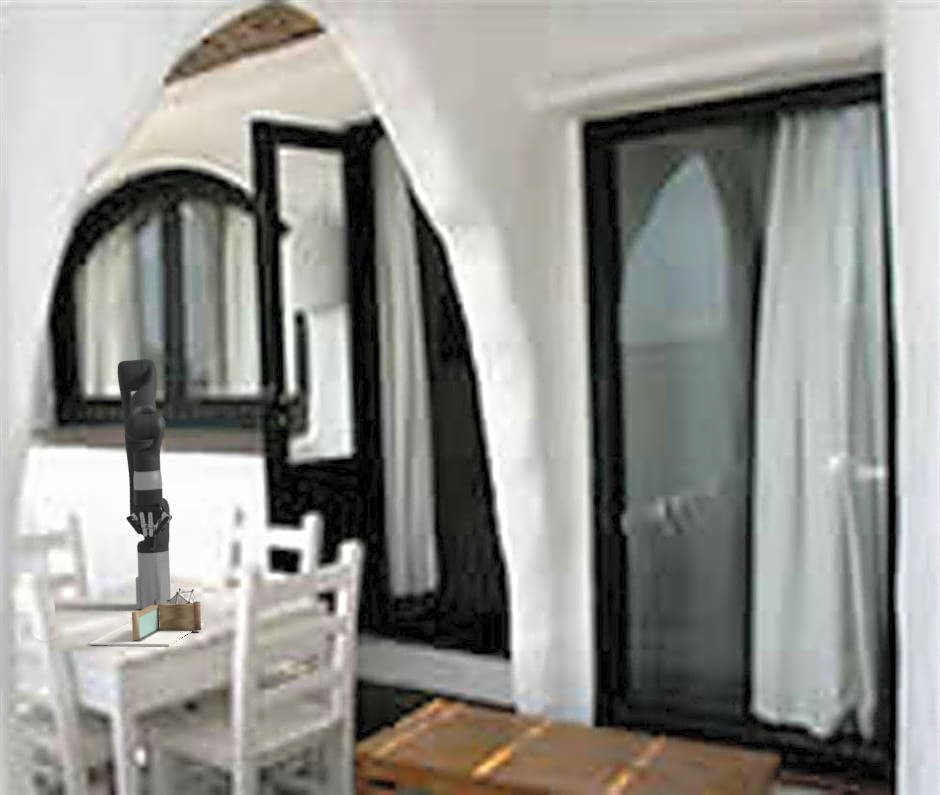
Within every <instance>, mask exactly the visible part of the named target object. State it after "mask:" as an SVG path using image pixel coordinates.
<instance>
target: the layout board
mask: <svg viewBox="0 0 940 795" xmlns="http://www.w3.org/2000/svg"><path fill="white" fill-rule="evenodd" d="M201 625H203V626H204V623H203V622H201ZM159 627H160V622H159ZM191 631H193V632H198V630H160V629H159V630H155V631H153V632H151V633H149V634H148V635H146V636H144V637H142V638H140V639H139V640H133V630H132V622H127V623H126V624H123V625H122V626H120V627H118V628H116V629H114V630H112V631H110V632H108V633H106V634H104V635H102V636H101V637H99V638H96V639H95V640H93V641H91V642H89V643H88V646H89V645H107V646H106V647H171V646H172V645H174V644H175V643H177V642H179V641H180V640H182V639H183V638H185V637H186V636H185V635H186V634H188V633H189V632H191ZM191 633H192V632H191ZM188 635H189V634H188ZM184 636H185V637H184ZM182 637H183V638H182ZM181 638H182V639H181ZM179 639H180V640H179ZM178 640H179V641H178ZM176 641H177V642H176ZM173 643H174V644H173Z"/></svg>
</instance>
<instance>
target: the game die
mask: <svg viewBox="0 0 940 795" xmlns="http://www.w3.org/2000/svg"><path fill="white" fill-rule="evenodd" d="M194 591H195V590H194V589H193V588H192V589H191V590H182V589H181V588H178V591H175V594H174V596H173V597H172V598H171V600H166V601H167V602H170V604H193V602H197V600H196V597H195V595H194V593H193V592H194ZM200 607H202V605H201V604H200Z"/></svg>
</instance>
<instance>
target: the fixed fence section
mask: <svg viewBox="0 0 940 795" xmlns="http://www.w3.org/2000/svg"><path fill="white" fill-rule="evenodd" d="M154 605H158V608H157V621H158V629H157V630H159V629H160V630H198V631H201V630H202V626H201V623H202V622H201V621H202V619H201V615H202V614H201V606H200V605H201V602H200V601H196V602H193V604H159V600H155V601H154ZM159 623H160V627H159ZM198 631H197V632H198Z"/></svg>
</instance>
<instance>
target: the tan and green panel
mask: <svg viewBox="0 0 940 795" xmlns="http://www.w3.org/2000/svg"><path fill="white" fill-rule="evenodd" d="M157 608H158V605H151V606H149V607H147V608H145V609H143V610H142V609H140V610H139V611H132V612H131V623H132V630H133V640H139V639H140V638H142V637H144V636H146V635H148V634H149V633H151V632H153V631H155V630H157V629H158V621H157Z"/></svg>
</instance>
